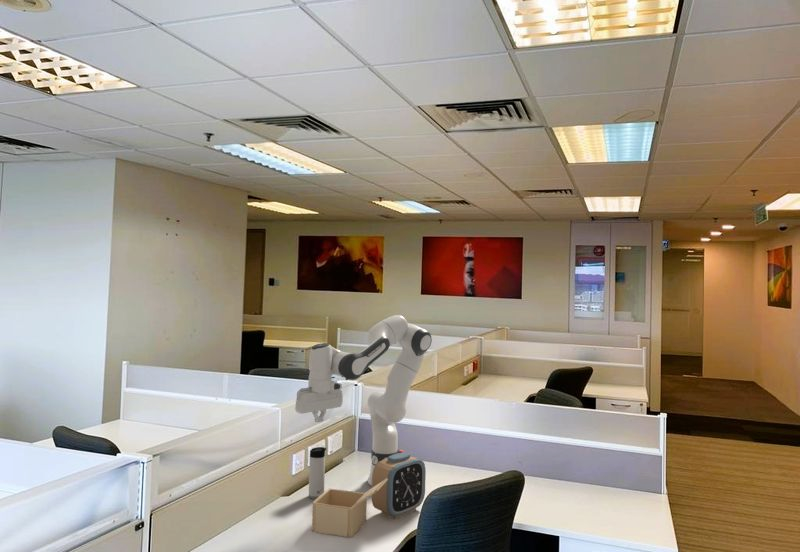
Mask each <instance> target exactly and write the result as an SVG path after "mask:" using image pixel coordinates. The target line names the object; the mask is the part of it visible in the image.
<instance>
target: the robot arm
mask: <svg viewBox="0 0 800 552" xmlns="http://www.w3.org/2000/svg"><path fill="white" fill-rule="evenodd" d="M432 340H433V339H432V334H431V333H430V332H429V331H428V330H427V329H425V328H422V327H420V326H418V325H416V324H413V323H409V322H408V320H407V319H406V318H405V317H404V316H402V315H401V314H394V315H391V316H389V317H386V318H384V319H382V320H381V321H379V322H378V323H377V322H376V324H375V325H373V326H372V327H371V328H370V329H369V330H368V333H367V341H368V343H369V345H368V346H366V347H365V348H363V349H362V350H361V351H359V352H355V353H354V352H353V353H352V352H347V351H342V350H339V349H337V348H335V347H334V346H332V345H331V344H330V343H326V342H324V343H316V344H314V345H313V346H311V348H310V351H309V355H308V356H309V359H308V368H309V375H308V386H307V387H304V388H303V387H301V388H300V389H298V390H297V392H296V400H295V408H294V410H295V411H296V413H298V414H306V413H307V414H308V413H312V415H313V417H314V422H315V423H321V422H324V417H325V415H326V413H327V410H330V409H336V408H341V407H342V406H343V402H344V401H343V397H344V396H343V391H342V388H343V384H342V383H340V382H336V381H333V380H332V376H333V375H335V376H338V377H343V378H344V379H347V380H349V381H355V380H358V379H359V378H361V377H362V376H363V374H364V373H365V372H366V370H367V369H368V368H369V366H370V365H372V364H373V363H374V362H376V360H378V359H379V358H380V357H381V356H383V355H384V354H386V352H388V351H389V349H390V347H391V346H393V345H394V344H395V345H397V346H400V347H401V348H402V349H401V352H400V354H399V355H398V357H397V358H396V360H395V362H394V364H393V366H392V368H391V370H390V371H389V373H388V375H387V378H386V380H387V383H386V388H385V391H375V392H373V393H371V394H370V395H369V396H368V398H367V407H368V409H369V416H370V421H371V423H370V424H371V429H372V449H371V453H370V454H371V456H370V459H371V464H370V471H369V475H368V480H367V483H368V484H369V485H370V486H372V475H373V470H374V468H375V466H376V464H377V463H378V462H380V461H381V460H383V459H386V458H388V457H389V456H391V455H394V454H397V453H402V452H405V451H404V450H402V449H400V450H399V449H398V441H399V439H398V438H399V435H398V434H399V432H398V429H397V427H396V426H397V425H396V423H399V422H401V421H403V420H404V418H405V416H406V414H407V413H406V412H407V409H406V403H407V399H408V395H409V391H410V389H411V387H412V384H413V382H414V381H415V378H416V376H417V375H418V372H419V371H420V368H421V366H422V363H423V359H424V356H425V353H426V352H428V350H429V348H430V347H431V344H432ZM319 412H320V413H319ZM318 414H319V415H318Z"/></svg>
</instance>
